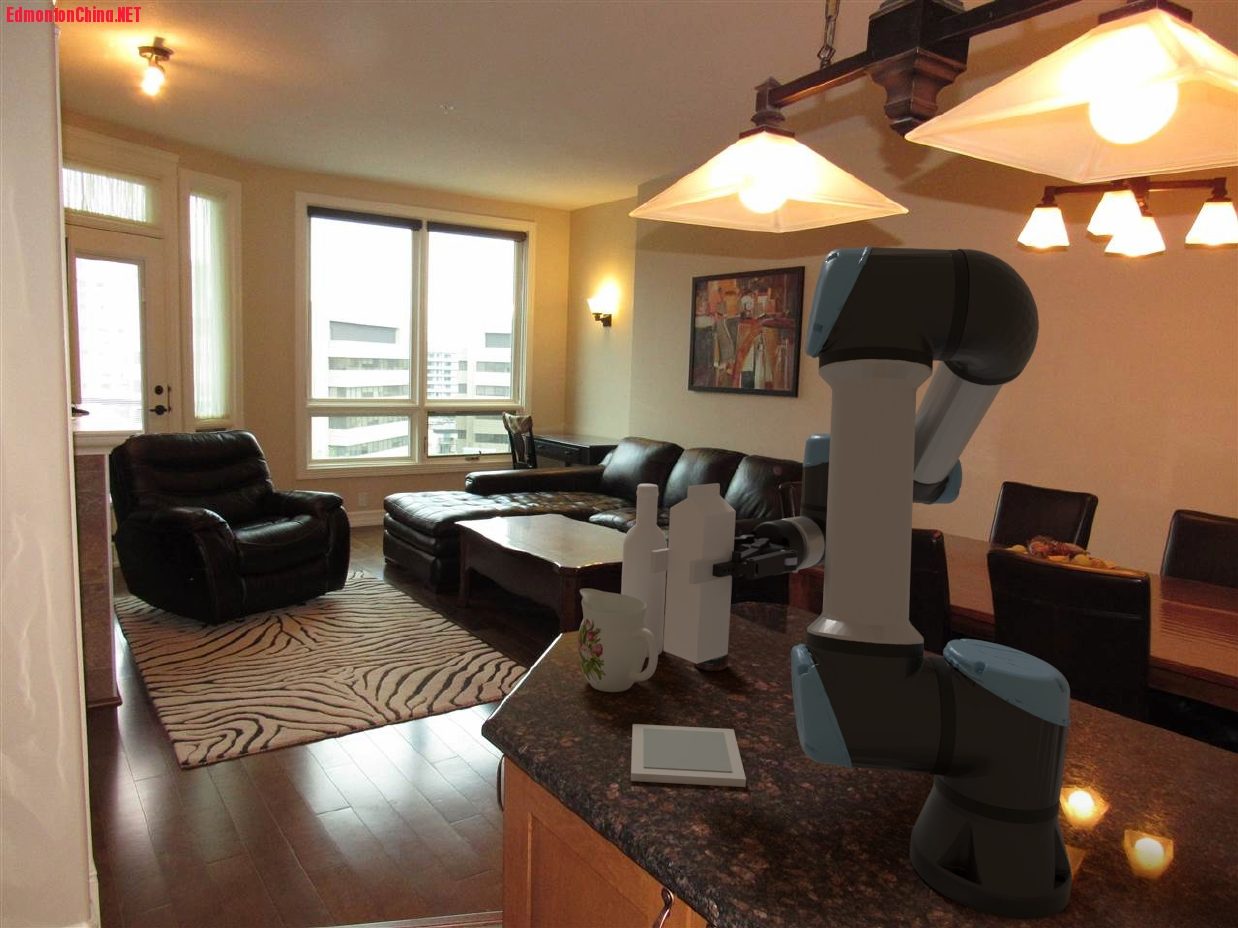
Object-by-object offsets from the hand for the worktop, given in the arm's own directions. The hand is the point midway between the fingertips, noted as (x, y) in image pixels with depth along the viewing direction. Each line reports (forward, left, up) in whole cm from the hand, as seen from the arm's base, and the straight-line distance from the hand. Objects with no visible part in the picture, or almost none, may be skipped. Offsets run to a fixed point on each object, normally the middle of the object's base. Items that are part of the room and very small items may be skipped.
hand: (672, 567), depth 102 cm
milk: (+4, -4, -12) cm, 13 cm away
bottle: (+43, +3, -26) cm, 50 cm away
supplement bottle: (+37, -9, -26) cm, 46 cm away
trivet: (+3, -3, -26) cm, 26 cm away
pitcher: (+26, +7, -26) cm, 37 cm away
